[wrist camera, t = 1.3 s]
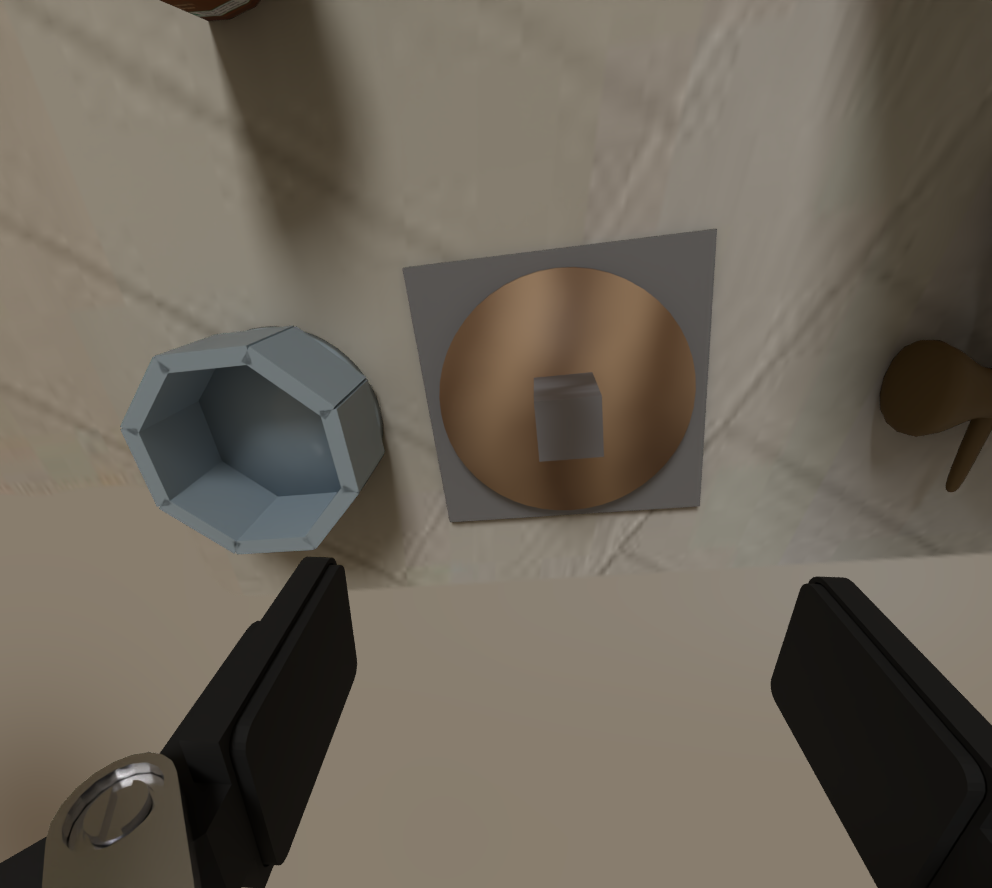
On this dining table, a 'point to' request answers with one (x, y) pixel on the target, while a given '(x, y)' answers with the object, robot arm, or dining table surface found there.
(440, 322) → the mat
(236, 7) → the food container
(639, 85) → the dining table surface
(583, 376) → the lid
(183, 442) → the bowl
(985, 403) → the kendama
